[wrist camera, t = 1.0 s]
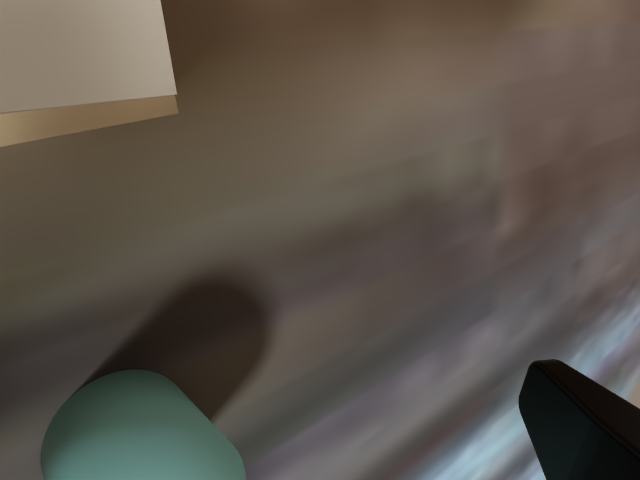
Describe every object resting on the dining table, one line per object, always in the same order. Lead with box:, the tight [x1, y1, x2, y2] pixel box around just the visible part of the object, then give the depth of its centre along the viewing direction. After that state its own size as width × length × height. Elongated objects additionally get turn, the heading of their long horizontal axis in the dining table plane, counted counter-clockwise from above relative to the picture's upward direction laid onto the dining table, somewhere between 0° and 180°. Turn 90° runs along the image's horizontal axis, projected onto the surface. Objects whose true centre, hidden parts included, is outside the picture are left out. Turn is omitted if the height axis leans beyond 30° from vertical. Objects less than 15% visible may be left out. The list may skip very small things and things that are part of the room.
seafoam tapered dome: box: [41, 369, 246, 480], centre depth 18 cm, size 6×6×5 cm
